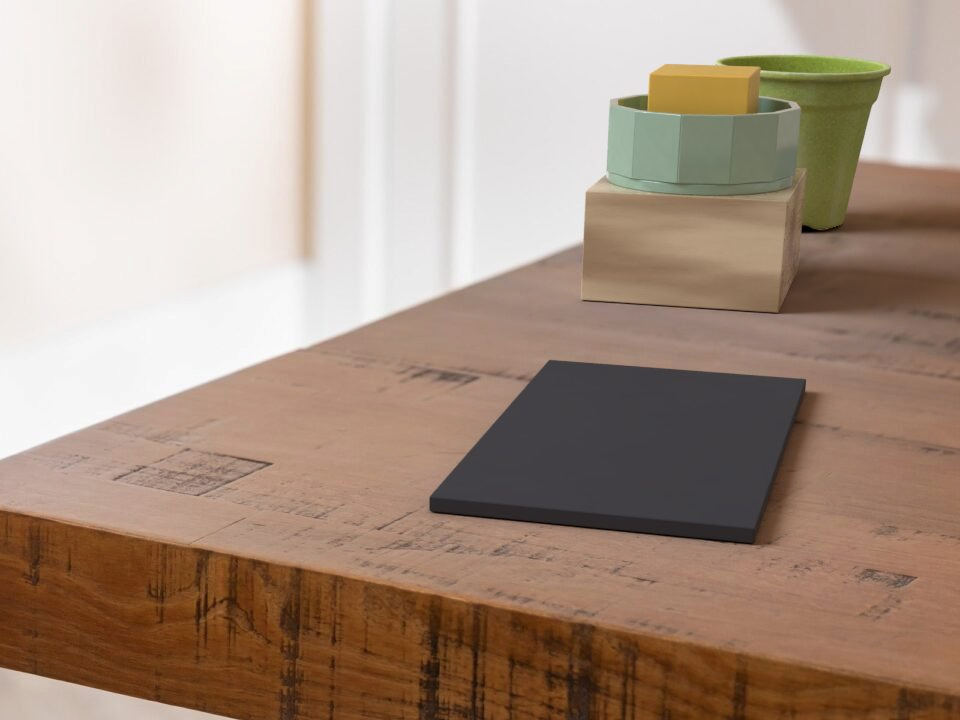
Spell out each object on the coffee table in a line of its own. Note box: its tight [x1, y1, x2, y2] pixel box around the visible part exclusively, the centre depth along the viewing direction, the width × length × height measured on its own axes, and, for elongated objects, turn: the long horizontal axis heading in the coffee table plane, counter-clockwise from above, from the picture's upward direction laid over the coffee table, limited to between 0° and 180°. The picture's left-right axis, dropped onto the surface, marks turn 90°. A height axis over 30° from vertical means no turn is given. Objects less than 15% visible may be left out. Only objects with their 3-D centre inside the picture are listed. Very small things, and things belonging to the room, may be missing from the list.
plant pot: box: [714, 54, 892, 230], centre depth 103 cm, size 9×9×9 cm
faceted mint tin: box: [605, 93, 801, 196], centre depth 87 cm, size 9×9×4 cm
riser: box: [580, 168, 807, 314], centre depth 89 cm, size 10×9×5 cm
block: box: [647, 63, 761, 115], centre depth 86 cm, size 4×4×4 cm
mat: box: [428, 359, 807, 544], centre depth 65 cm, size 18×10×1 cm, turn 163°
